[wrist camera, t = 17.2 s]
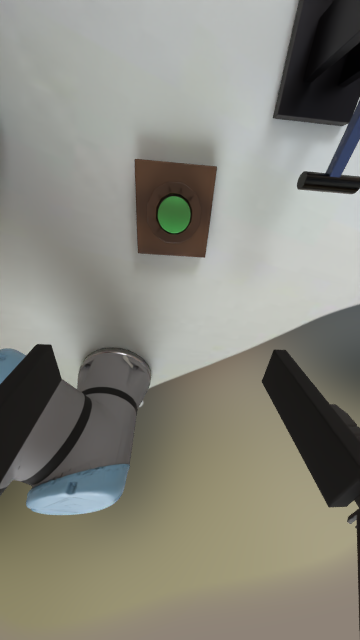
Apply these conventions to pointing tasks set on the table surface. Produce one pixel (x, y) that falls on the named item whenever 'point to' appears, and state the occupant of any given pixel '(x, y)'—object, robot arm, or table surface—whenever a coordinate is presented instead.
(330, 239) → the table surface
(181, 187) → the switch block
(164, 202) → the green button
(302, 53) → the lever bracket
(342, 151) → the lever
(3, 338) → the table surface
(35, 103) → the table surface
